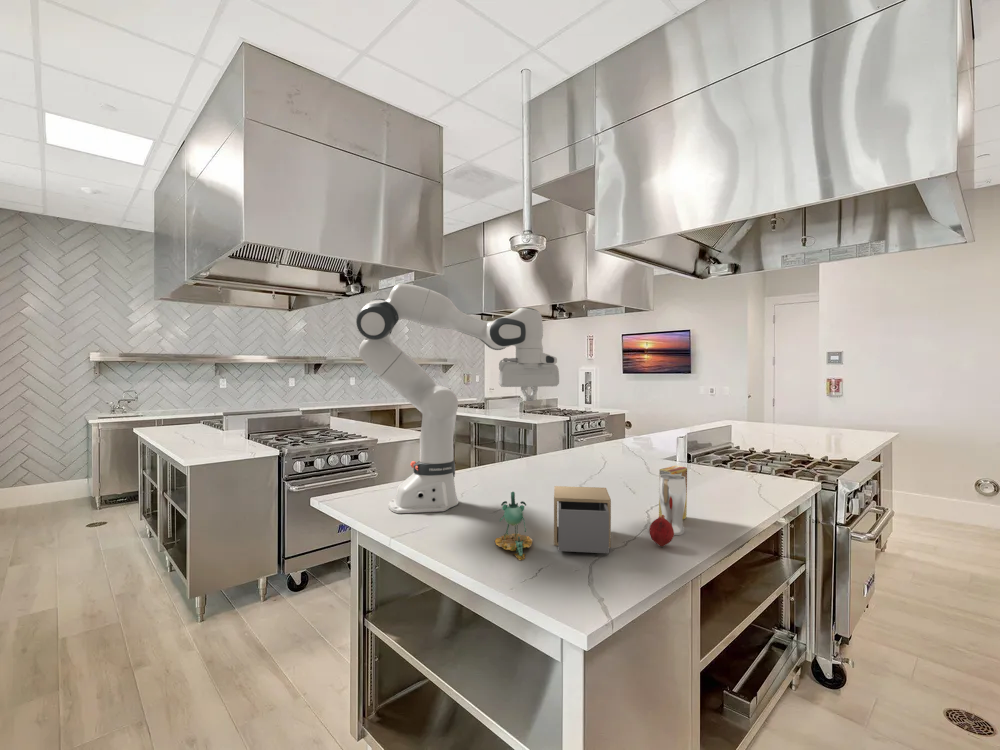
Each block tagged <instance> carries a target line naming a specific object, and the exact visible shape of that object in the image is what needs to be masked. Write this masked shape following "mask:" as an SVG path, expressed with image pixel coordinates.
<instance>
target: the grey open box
mask: <svg viewBox="0 0 1000 750" xmlns="http://www.w3.org/2000/svg"><path fill="white" fill-rule="evenodd" d="M557 526H558V548H557V551H558V552H573V553H575V552H576V553H593V554H594V553H595V554H596V553H597V554H609V553H610V548H609V510H608V508H607V505H606V503H594V502H565V501H557Z"/></svg>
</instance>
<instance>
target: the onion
mask: <svg viewBox="0 0 1000 750" xmlns="http://www.w3.org/2000/svg"><path fill="white" fill-rule="evenodd" d="M664 517H665V516H664V515H663V514H661V515H660V516H659V515H658V517H657V518H656V519H654V520H653V521H652V522H651V524H650V525H649V531H648V532H649V537H650V539H651V540H652V541H653V542H654V543H655V544H656V545H657V546H659V547H665V546H666V545H668V544H670V542H672V540H673V538H674V537H675V535H674V530H673V527H672V525H671V524H670V522H669V521H667V520H666V519H665V518H664Z"/></svg>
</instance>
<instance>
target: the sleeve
mask: <svg viewBox="0 0 1000 750" xmlns="http://www.w3.org/2000/svg"><path fill="white" fill-rule="evenodd" d="M553 488H554V491H553V546H558V501H565V502H594V503H606V505H607V508H608V510H609V549H611V548H612V544H611V542H612V541H611V539H612V538H611V537H612V526H611V525H612V522H611V521H612V520H611V519H612V501H611V496H610V494H609V492H608V489H607V487H600V486H599V487H596V486H595V487H594V486H593V487H591V486H568V485H567V486H564V485H563V486H561V485H560V486H559V485H558V486H557V485H554V487H553Z"/></svg>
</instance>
